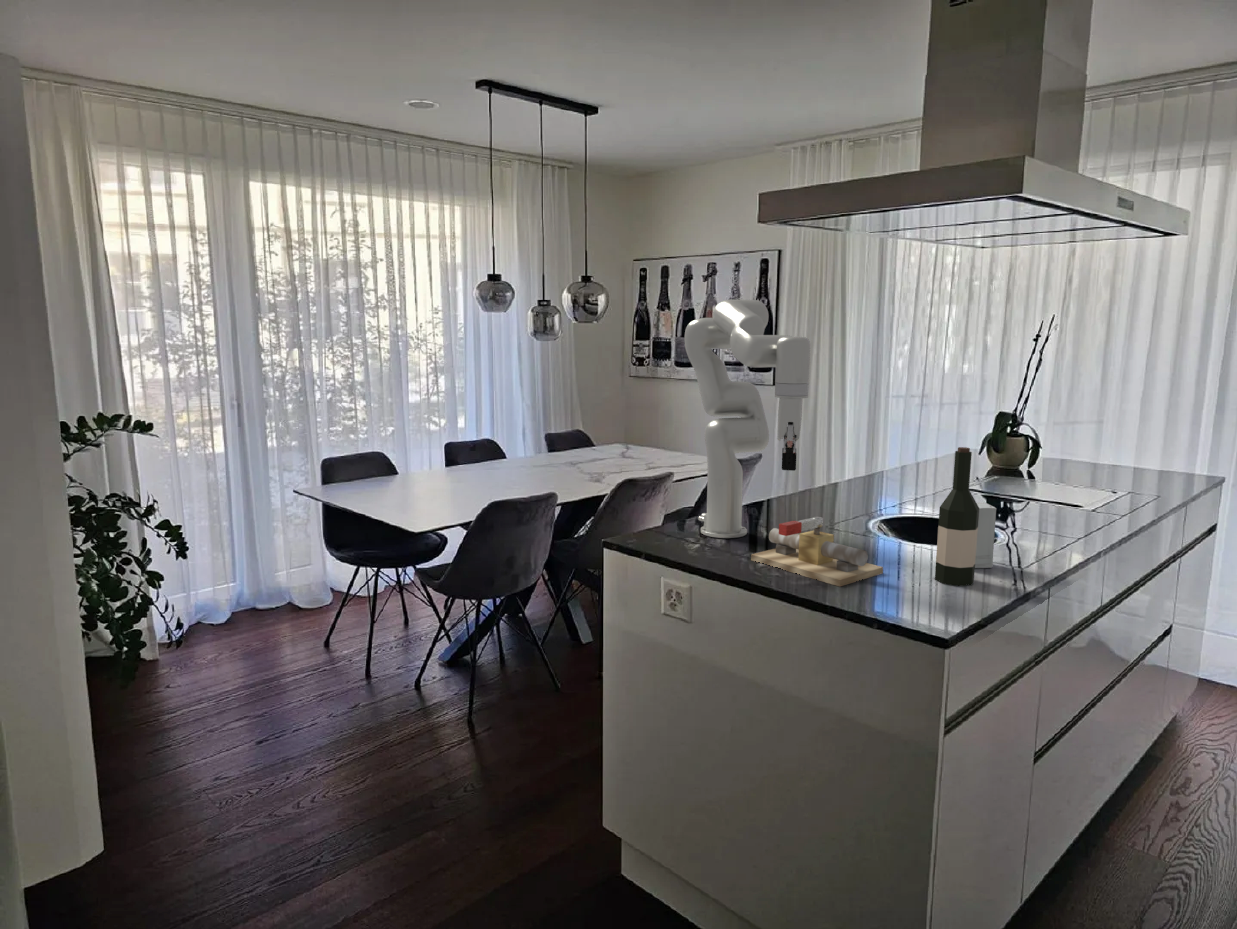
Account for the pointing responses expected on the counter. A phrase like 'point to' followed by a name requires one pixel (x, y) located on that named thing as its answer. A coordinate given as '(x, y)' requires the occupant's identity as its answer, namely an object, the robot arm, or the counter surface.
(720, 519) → the robot arm
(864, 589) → the counter surface
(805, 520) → the valve lever
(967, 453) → the wine bottle
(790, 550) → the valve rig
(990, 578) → the counter surface
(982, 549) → the skincare box
